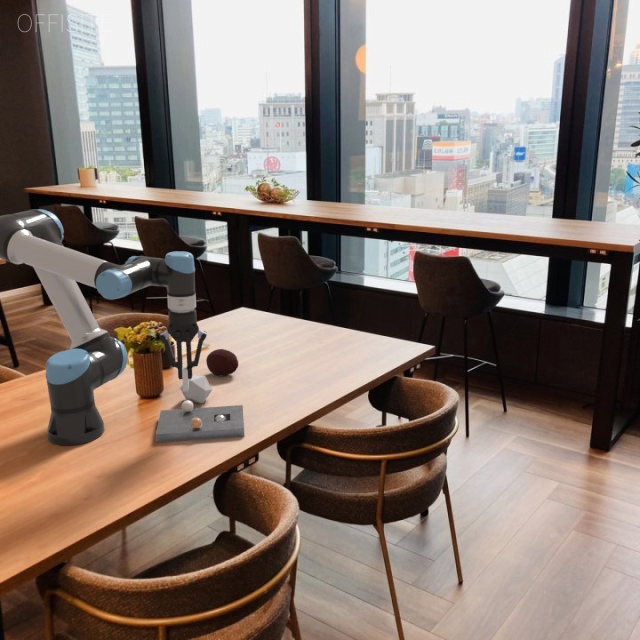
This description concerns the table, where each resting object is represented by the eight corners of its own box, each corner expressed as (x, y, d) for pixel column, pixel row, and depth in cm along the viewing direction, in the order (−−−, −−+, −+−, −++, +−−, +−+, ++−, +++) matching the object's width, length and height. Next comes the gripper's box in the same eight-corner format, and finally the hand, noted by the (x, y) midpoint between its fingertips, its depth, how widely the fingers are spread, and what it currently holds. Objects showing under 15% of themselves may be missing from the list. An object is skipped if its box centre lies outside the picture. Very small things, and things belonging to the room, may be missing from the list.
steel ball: (215, 416, 196) (227, 418, 197) (215, 412, 199) (227, 413, 200) (213, 427, 197) (225, 429, 198) (213, 422, 200) (225, 424, 201)
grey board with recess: (156, 442, 190) (155, 434, 189) (161, 418, 205) (160, 410, 204) (244, 436, 192) (244, 428, 192) (242, 412, 208) (242, 405, 207)
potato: (215, 368, 244) (213, 343, 241) (244, 373, 239) (243, 348, 237) (201, 377, 236) (199, 351, 234) (231, 382, 232) (229, 355, 229)
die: (217, 399, 220) (204, 370, 222) (213, 395, 211) (200, 366, 213) (192, 410, 219) (179, 382, 221) (187, 408, 210) (174, 378, 212)
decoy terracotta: (191, 430, 191) (190, 420, 190) (191, 426, 194) (190, 416, 193) (202, 430, 191) (201, 420, 190) (202, 425, 194) (201, 415, 193)
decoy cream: (181, 414, 201) (180, 403, 200) (182, 409, 205) (181, 398, 204) (193, 413, 202) (192, 402, 201) (194, 408, 205) (193, 398, 204)
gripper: (156, 313, 184) (161, 395, 191) (206, 312, 185) (209, 393, 192) (158, 305, 191) (163, 385, 198) (206, 304, 192) (209, 383, 200)
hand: (185, 389), depth 195 cm, fingers closed
